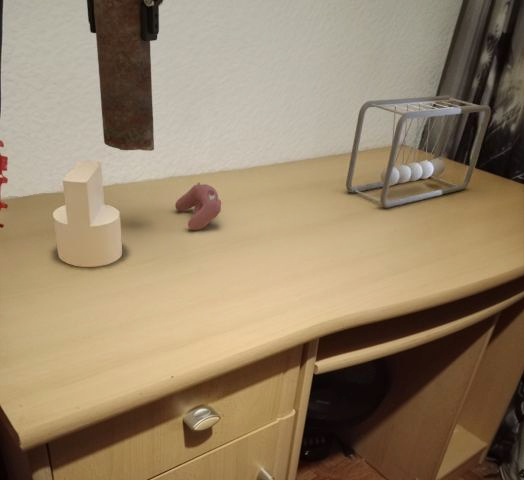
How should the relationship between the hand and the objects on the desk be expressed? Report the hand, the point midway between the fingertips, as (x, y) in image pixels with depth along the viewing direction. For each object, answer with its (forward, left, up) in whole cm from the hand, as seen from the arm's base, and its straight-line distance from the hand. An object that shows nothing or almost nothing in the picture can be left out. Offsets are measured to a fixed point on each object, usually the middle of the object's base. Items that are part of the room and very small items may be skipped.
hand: (123, 35), depth 74 cm
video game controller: (+8, +8, -27) cm, 30 cm away
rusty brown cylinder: (0, 0, -15) cm, 15 cm away
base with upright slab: (0, -12, -27) cm, 30 cm away
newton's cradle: (+40, +47, -27) cm, 67 cm away
